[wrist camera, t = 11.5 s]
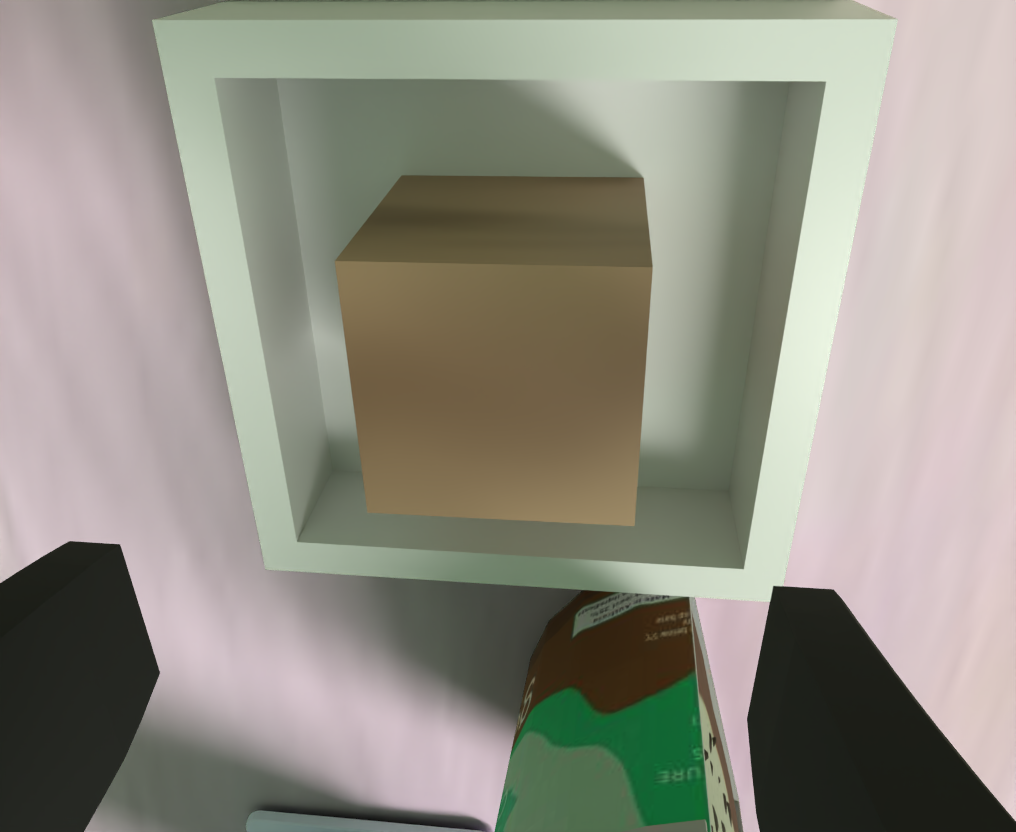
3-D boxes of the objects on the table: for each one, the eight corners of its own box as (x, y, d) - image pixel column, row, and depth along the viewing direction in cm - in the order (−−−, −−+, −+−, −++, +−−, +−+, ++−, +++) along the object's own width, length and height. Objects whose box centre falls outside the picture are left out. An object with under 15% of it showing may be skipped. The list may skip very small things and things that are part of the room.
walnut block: (630, 392, 18) (634, 526, 14) (419, 385, 18) (367, 513, 15) (643, 177, 16) (653, 267, 12) (401, 175, 16) (334, 260, 12)
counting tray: (758, 511, 20) (779, 602, 17) (308, 486, 21) (265, 569, 18) (847, -2, 14) (897, 18, 12) (229, 0, 15) (151, 19, 13)
